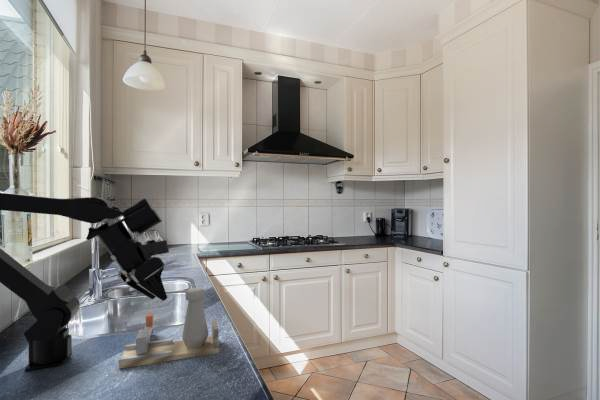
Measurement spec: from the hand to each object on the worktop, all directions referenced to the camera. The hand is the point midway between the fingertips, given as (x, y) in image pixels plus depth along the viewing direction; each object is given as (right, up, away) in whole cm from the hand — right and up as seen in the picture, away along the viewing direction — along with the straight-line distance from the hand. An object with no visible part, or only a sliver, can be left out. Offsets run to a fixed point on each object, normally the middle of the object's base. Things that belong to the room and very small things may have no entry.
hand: (159, 298), depth 77 cm
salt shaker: (+10, -10, -3) cm, 14 cm away
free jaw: (-2, -10, -2) cm, 10 cm away
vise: (+5, -11, -5) cm, 13 cm away
